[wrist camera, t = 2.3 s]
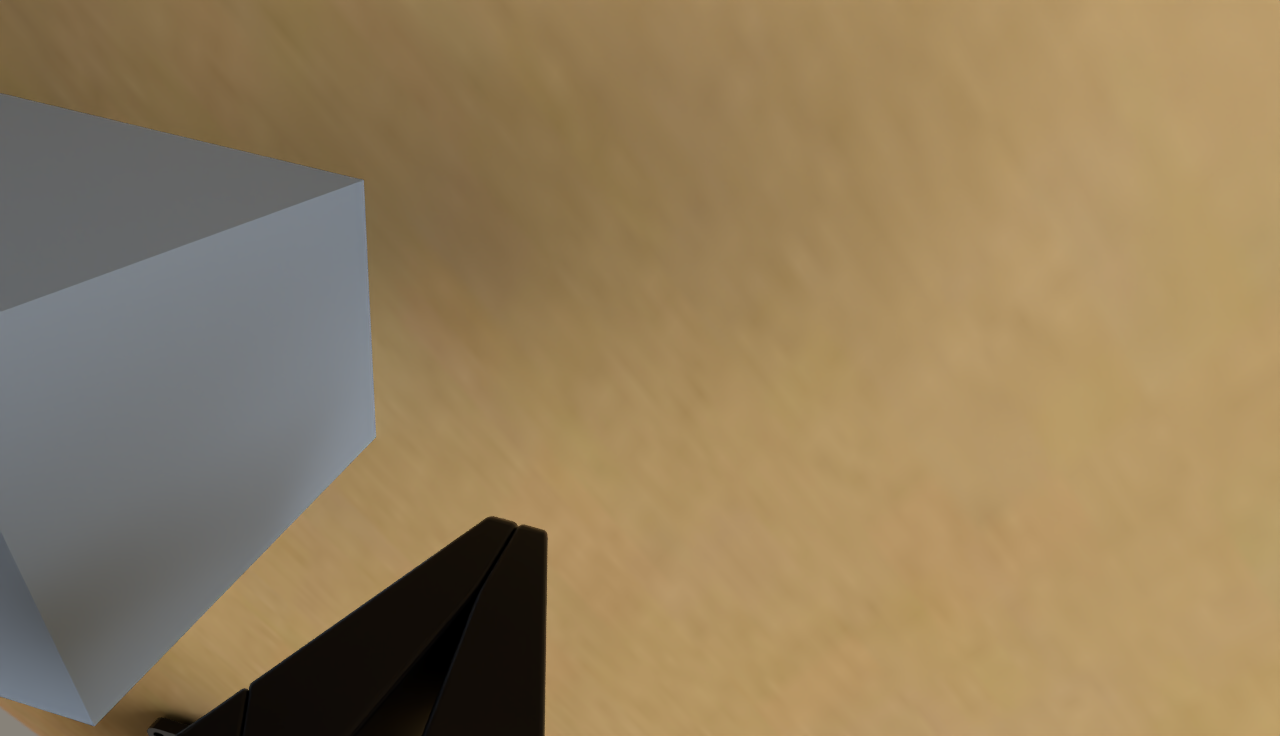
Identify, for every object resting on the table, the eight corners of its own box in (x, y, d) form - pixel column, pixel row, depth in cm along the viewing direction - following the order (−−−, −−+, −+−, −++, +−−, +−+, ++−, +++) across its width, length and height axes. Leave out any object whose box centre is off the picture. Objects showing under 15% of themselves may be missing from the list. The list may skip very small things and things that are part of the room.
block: (377, 434, 14) (93, 726, 8) (70, 352, 15) (-404, 568, 9) (366, 178, 11) (-91, 345, 5) (-18, 87, 12) (-823, 142, 6)
